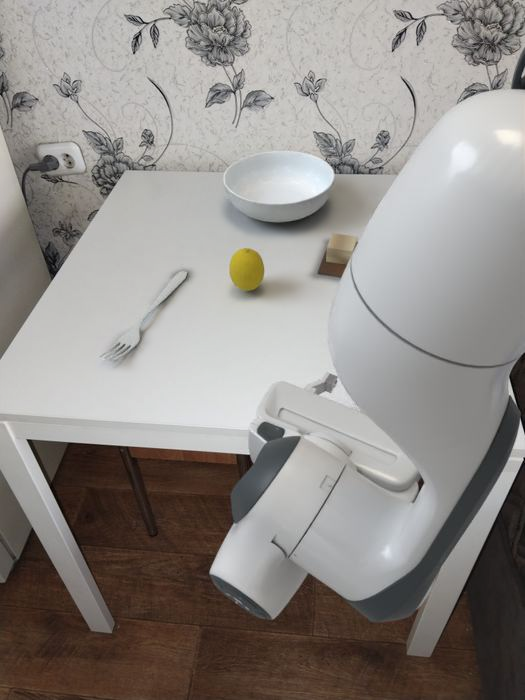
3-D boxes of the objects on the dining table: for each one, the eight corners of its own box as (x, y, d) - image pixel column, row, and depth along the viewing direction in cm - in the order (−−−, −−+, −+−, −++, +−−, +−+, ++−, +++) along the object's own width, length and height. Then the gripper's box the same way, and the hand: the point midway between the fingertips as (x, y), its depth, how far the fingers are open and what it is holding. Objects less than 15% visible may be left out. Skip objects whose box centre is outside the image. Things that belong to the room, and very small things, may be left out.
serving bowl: (336, 182, 120) (337, 150, 116) (329, 240, 106) (331, 206, 101) (235, 178, 123) (233, 147, 118) (215, 234, 108) (212, 201, 103)
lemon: (266, 280, 98) (264, 239, 92) (263, 301, 94) (261, 260, 88) (233, 279, 98) (230, 238, 93) (229, 300, 94) (225, 259, 89)
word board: (445, 256, 101) (448, 238, 98) (440, 292, 94) (444, 274, 92) (330, 241, 105) (331, 223, 103) (317, 273, 99) (318, 256, 96)
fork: (193, 273, 100) (192, 265, 99) (117, 370, 84) (115, 362, 83) (176, 269, 101) (175, 261, 100) (98, 365, 85) (95, 356, 84)
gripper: (411, 499, 58) (455, 405, 66) (236, 420, 66) (295, 345, 74) (403, 532, 62) (445, 439, 71) (239, 454, 70) (295, 379, 78)
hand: (367, 390), depth 72 cm, fingers open, 8 cm apart
